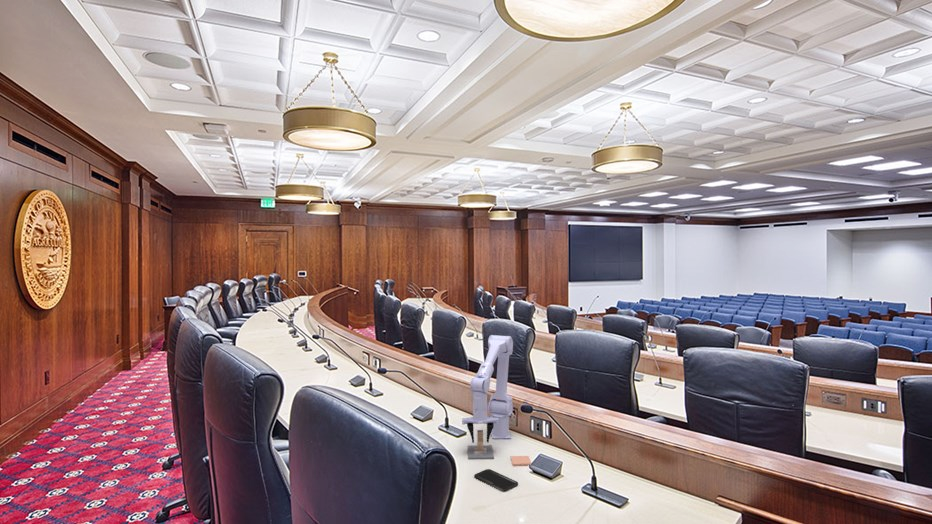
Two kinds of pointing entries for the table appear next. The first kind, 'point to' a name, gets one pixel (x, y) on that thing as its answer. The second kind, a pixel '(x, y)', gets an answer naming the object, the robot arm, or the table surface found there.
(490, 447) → the mat
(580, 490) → the table surface
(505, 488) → the phone
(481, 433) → the grey square paddle
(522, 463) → the tile
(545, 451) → the table surface
